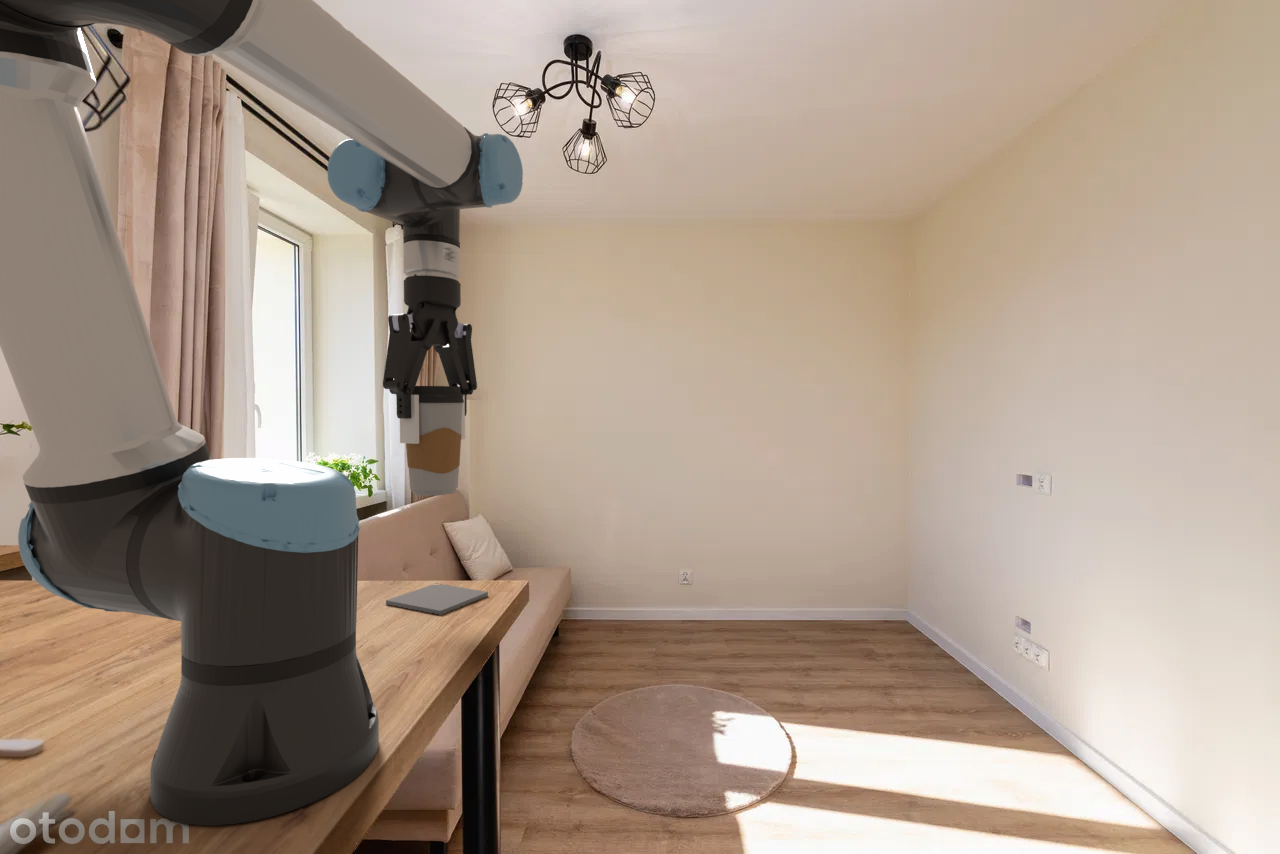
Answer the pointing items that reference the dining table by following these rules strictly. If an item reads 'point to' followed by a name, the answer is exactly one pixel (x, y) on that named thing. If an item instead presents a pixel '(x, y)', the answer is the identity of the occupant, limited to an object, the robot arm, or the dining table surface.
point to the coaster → (437, 598)
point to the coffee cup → (436, 441)
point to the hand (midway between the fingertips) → (433, 440)
